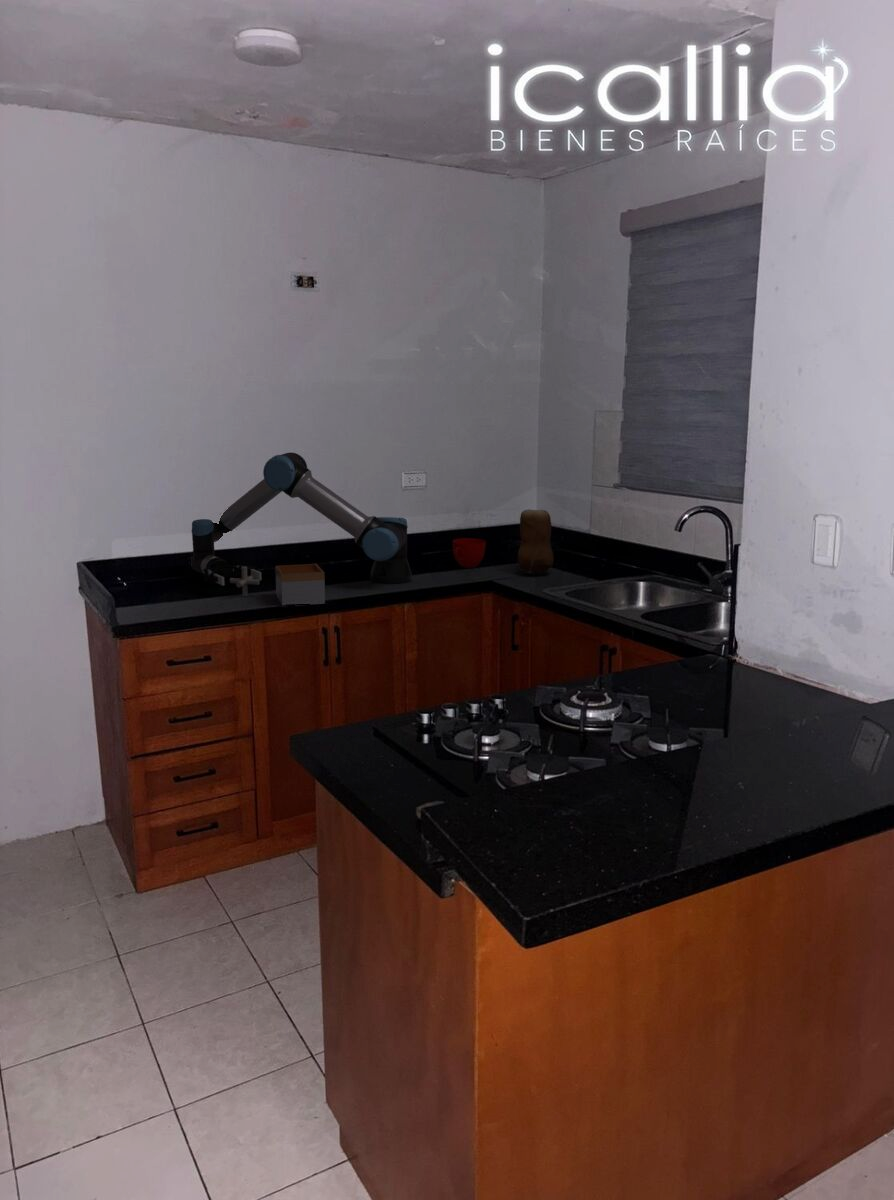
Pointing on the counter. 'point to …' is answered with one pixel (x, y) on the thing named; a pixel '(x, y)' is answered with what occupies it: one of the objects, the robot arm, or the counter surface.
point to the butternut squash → (535, 542)
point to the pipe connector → (244, 581)
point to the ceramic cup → (468, 551)
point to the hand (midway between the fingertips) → (242, 578)
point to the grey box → (300, 584)
